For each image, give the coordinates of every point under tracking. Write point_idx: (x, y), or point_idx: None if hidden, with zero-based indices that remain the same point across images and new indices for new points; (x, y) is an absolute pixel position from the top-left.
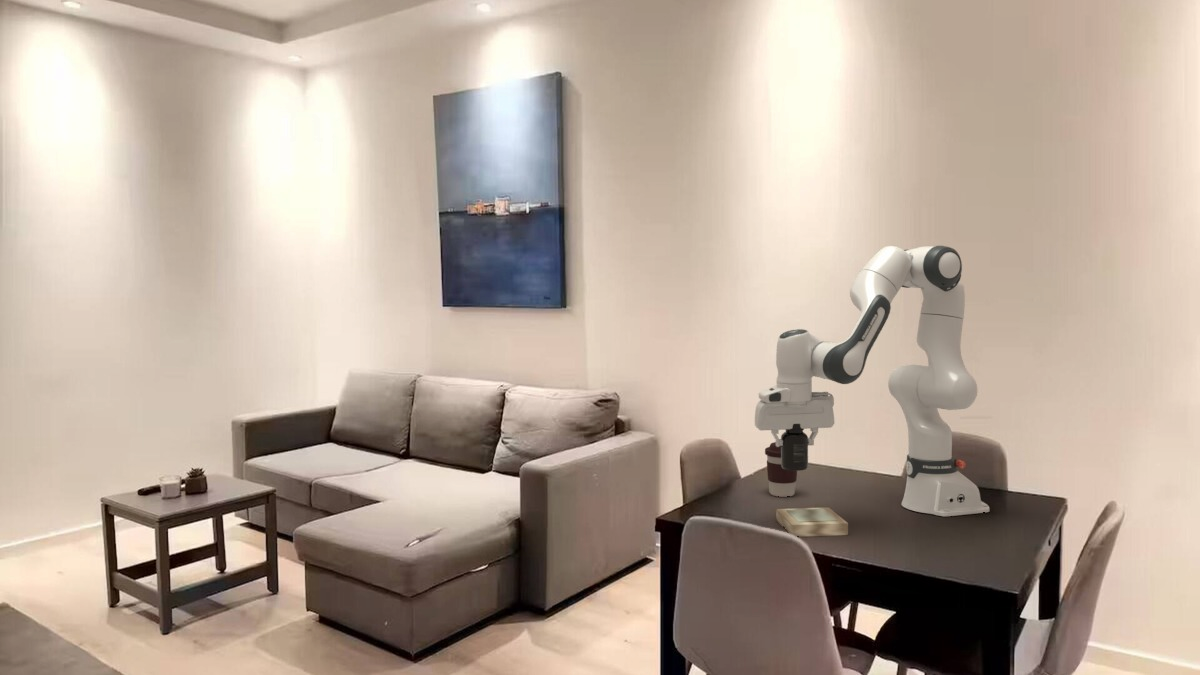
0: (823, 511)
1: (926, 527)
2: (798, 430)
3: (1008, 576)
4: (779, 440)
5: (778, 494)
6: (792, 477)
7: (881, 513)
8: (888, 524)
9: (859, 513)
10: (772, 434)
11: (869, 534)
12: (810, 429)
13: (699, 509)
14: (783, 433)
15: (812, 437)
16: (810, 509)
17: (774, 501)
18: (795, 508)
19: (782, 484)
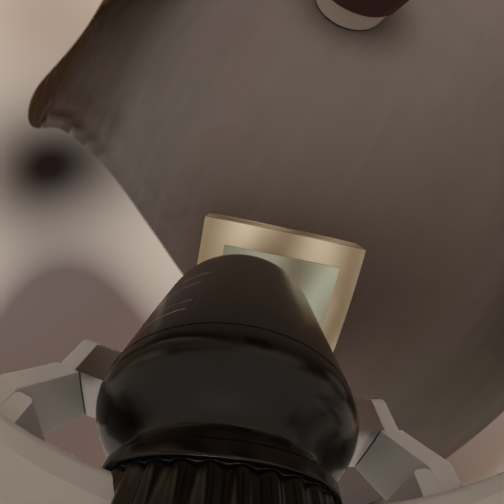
0: (324, 290)
1: (469, 349)
2: None
3: (377, 495)
4: (83, 412)
5: (328, 16)
6: (383, 11)
7: (475, 247)
8: (437, 321)
9: (442, 230)
10: (14, 380)
11: (360, 370)
12: (414, 483)
13: (74, 76)
14: (105, 433)
15: (364, 475)
16: (301, 260)
17: (297, 46)
18: (266, 229)
19: (345, 10)
